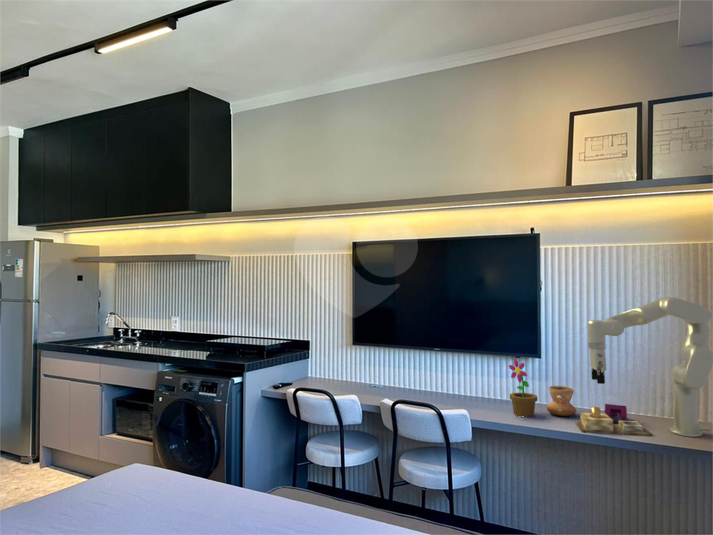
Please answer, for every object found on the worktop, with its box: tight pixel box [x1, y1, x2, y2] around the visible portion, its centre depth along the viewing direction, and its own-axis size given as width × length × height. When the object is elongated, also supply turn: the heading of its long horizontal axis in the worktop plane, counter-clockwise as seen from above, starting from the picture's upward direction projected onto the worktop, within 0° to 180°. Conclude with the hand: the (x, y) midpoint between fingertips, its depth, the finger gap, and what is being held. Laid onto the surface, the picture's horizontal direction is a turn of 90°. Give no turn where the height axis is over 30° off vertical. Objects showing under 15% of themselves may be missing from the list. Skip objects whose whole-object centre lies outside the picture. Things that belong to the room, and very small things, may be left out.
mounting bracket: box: [604, 403, 628, 421], centre depth 249 cm, size 9×8×18 cm
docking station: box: [574, 412, 653, 437], centre depth 234 cm, size 30×14×6 cm, turn 78°
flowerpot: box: [508, 358, 538, 418], centre depth 262 cm, size 14×14×30 cm
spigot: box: [590, 406, 602, 418], centre depth 236 cm, size 4×4×9 cm
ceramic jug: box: [546, 385, 577, 417], centre depth 263 cm, size 18×14×14 cm
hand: (598, 381), depth 237 cm, fingers open, 9 cm apart
